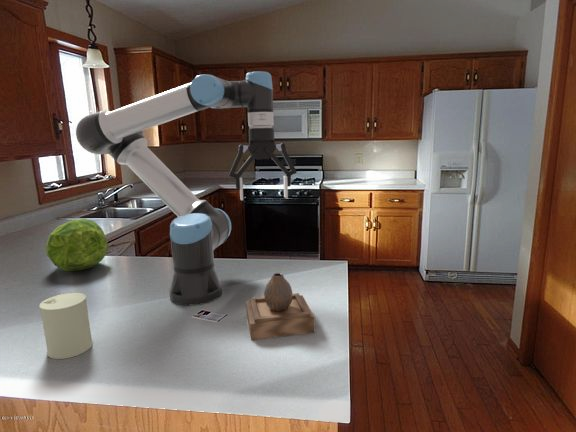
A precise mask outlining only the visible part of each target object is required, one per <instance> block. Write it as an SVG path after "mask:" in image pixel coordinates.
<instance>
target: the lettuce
mask: <svg viewBox="0 0 576 432" xmlns="http://www.w3.org/2000/svg"><path fill="white" fill-rule="evenodd" d="M107 239H108V238H107V236H106V233H105V231H104V230H103V228H102V227H101V226H100V225H99V224H97V223H96V221H94V220H90V219H87V218H86V219H85V218H79V219H74V220H70V221H67V222H65V223H63V224H61V225H59V226H57V227H56V228H55V229H54V230H53V231H52V232H51V233H50V234H49V235H48V238H47V241H46V243H45V251H46V256H47V257H48V259H49V260H50V262H52V264H53V265H54V266H55V267H57V268H59V269H61V270H63V271H66V272H78V271H82V270H85V269H86V270H87V269H89V268H93V267H94V266H96V265H97V264H99V263H100V262H102V261H103V259H104V258H105V257H106V256H107V253H108V249H109V247H108V246H109V244H108V240H107Z"/></svg>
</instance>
